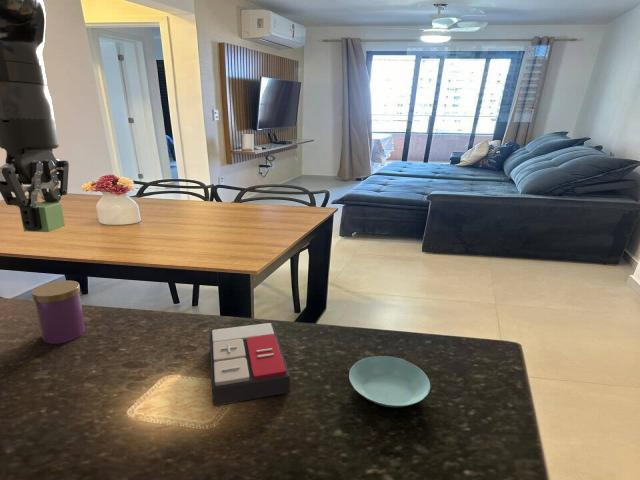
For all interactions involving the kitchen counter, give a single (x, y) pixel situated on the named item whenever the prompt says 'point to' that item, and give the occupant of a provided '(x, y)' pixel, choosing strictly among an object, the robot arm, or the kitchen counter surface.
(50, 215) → the cube
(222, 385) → the calculator
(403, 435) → the kitchen counter surface
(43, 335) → the jar
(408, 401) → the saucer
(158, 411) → the kitchen counter surface
